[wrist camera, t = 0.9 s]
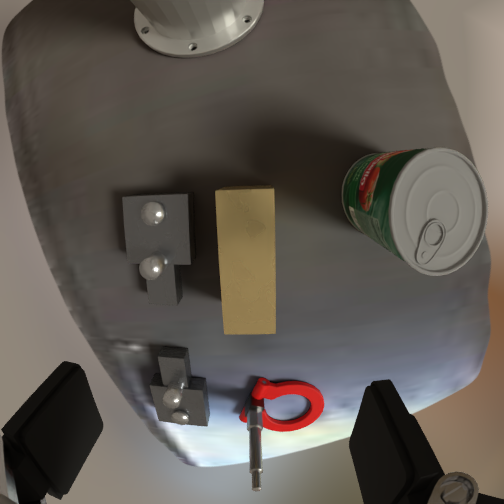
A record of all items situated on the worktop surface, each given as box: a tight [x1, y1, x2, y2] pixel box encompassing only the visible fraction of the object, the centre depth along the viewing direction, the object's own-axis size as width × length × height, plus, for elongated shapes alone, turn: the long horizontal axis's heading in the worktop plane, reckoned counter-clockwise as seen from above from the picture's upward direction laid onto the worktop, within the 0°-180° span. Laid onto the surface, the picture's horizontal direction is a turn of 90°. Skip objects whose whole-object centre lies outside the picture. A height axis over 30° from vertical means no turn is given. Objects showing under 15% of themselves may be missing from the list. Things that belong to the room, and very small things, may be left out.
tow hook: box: [239, 378, 324, 491], centre depth 26 cm, size 8×13×9 cm
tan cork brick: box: [215, 185, 276, 334], centre depth 25 cm, size 11×4×6 cm, turn 2°
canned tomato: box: [341, 147, 488, 276], centre depth 20 cm, size 8×8×11 cm
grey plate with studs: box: [122, 192, 210, 426], centre depth 27 cm, size 26×6×4 cm, turn 0°
